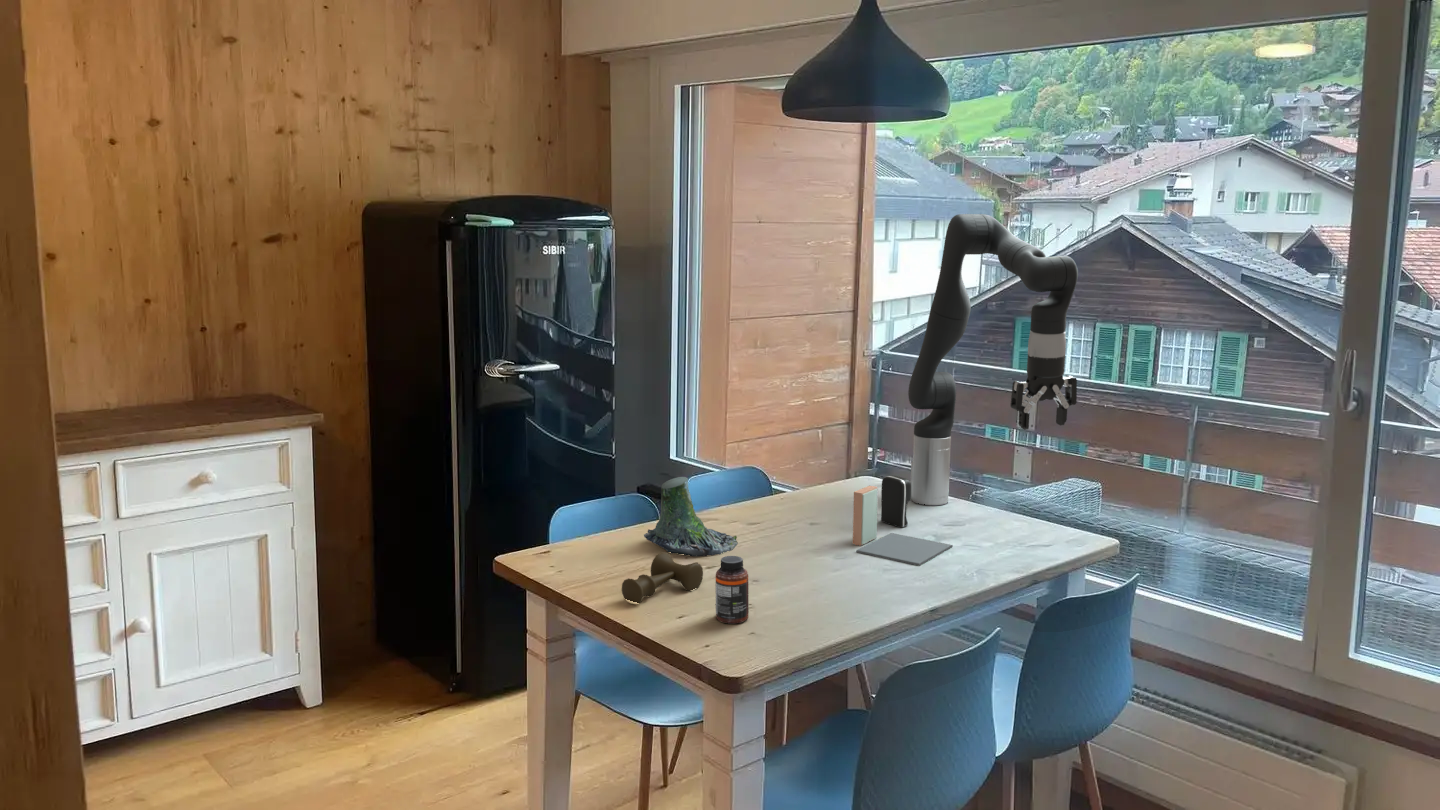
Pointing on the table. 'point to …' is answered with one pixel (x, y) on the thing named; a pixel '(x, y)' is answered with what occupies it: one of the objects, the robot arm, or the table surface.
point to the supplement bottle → (732, 591)
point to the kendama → (662, 577)
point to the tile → (865, 515)
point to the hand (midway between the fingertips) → (1042, 426)
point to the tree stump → (685, 525)
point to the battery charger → (895, 500)
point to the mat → (904, 549)
